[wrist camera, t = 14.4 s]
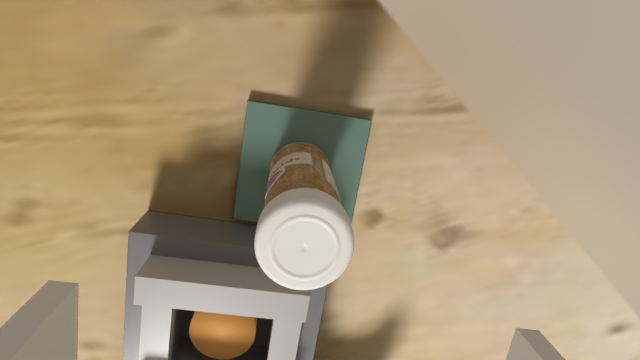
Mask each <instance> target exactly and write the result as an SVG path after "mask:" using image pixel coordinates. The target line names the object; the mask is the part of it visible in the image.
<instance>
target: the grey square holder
mask: <svg viewBox="0 0 640 360" xmlns="http://www.w3.org/2000/svg"><path fill="white" fill-rule="evenodd" d="M256 228H257V225H253V224H246V223H238V222H230V221H222V220H215V219H207V218H199V217H192V216H184V215H176V214H168V213H161V212H153V211H147V212H146V213H145V214H144V216H143V217H142V218H141V219H140V220H139V221H138V222H137V223H136V224H135V225H134V226H133V228H132V229H131V230H130V231H129V236H128V257H127V277H126V298H125V318H124V339H123V359H122V360H313V357H314V352H315V347H316V342H317V336H318V331H319V326H320V321H321V316H322V310H323V305H324V300H325V295H326V290H327V285H325V286H323V287H320V288H317V289H312V290H295V289H290V288H287V287H284V286H281V285H279V284H278V283H276V282H274V281H273V280H272V279H270V278H269V277H268V276H267V275H266V274H265V272H264V271H263V270H262V268H261V267H260V265H259V263H258V261H257V258H256V254H255V249H254V240H255V233H256ZM195 311H200V312H209V313H219V314H228V315H237V316H247V317H256V318H258V319H257V326H256V334H255V339H254V342H253V344H252V345H251V347H250V348H249V349H248V350H247V351H246V352H245V353H243V354H242V355H240V356H238V357H235V358H232V359H214V358H211V357H208V356H206V355H204V354H202V353H201V352H200V351H199V350H197V349H196V347H195V346H194V345H193V343H192V341H191V339H190V334H189V327H190V323H191V320H192V318H193V315H194V312H195Z"/></svg>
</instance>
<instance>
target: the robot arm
mask: <svg viewBox="0 0 640 360" xmlns="http://www.w3.org/2000/svg"><path fill="white" fill-rule="evenodd" d="M77 345H78V283H69V282H60V281H50V280H49V281H48V282H47V283H46V284H45V285H44V286H43V287H42V288H41V289H40V290H39V291H38V292H37V293H36V294H35V295H34V296H33V297H32V298H31V299H30V300H29V301H28V302H26V303H25V304H24V305H23V306H22V307H21V308H20V309H19V310H18V311H17V312H16V313H15V314H14V315H13V316H12V317H11V318H10V319H9V320H8V321H7V322H6V323H5V324H4V325H3V326H2V327H1V328H0V360H77ZM506 360H565V359H564V358H563V357H562V356H561V354H560V353H559V352H558V351H557V350H556V349H555V348H554V347H553V346H552V345H551V343H550V342H549V341H548V340H547V339H546V338H545V337H544V336H543V335H542V334H541V333H540V331H539V330H529V329H520V328H516V330H515V333H514V336H513V339H512V342H511V345H510V348H509V351H508V354H507V357H506Z"/></svg>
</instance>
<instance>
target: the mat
mask: <svg viewBox="0 0 640 360" xmlns="http://www.w3.org/2000/svg"><path fill="white" fill-rule="evenodd" d="M370 125H371V120H369V119H363V118H357V117H351V116H344V115H338V114H332V113H326V112H319V111H313V110H307V109H301V108H295V107H288V106H282V105H276V104H270V103H263V102H257V101H251V100H248V101H247V108H246V116H245V125H244V133H243V141H242V150H241V158H240V167H239V175H238V183H237V192H236V200H235V208H234V217H233V219H238V220H246V221H254V222H258V220H259V217H260V215H261V213H262V211H263V209H264V206H265V194H266V189H267V184H268V178H269V174H270V164H271V161H272V158H273V157H274V155H275V154H276V153H277V152H278V151H279V150H280V149H281V148H282V147H284V146H286V145H288V144H290V143H293V142H307V143H311V144H313V145H315V146H317V147H318V148H319V149H320V150H322V151H323V152H324V154H325V156H326V157H327V159H328V161H329V165H330V170H331V172H332V175H333V178H334V181H335V184H336V187H337V190H338V193H339V196H340V201H341V205H342V206H343V208H344V209H345V211H346V213H347V215H348V217H349V220H350V223H351V220H352V215H353V210H354V205H355V200H356V195H357V190H358V185H359V180H360V175H361V170H362V165H363V160H364V155H365V150H366V145H367V140H368V135H369V130H370Z"/></svg>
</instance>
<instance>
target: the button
mask: <svg viewBox="0 0 640 360" xmlns="http://www.w3.org/2000/svg"><path fill="white" fill-rule="evenodd" d="M257 319H258V318H256V317H247V316H237V315H228V314H219V313H209V312H200V311H195V312H194V315H193V318H192V320H191V323H190V327H189V334H190V339H191V341H192V343H193V345H194V346H195V347H196V349H197V350H199V351H200V352H201V353H202V354H204V355H206V356H208V357H211V358H214V359H232V358H235V357H238V356H240V355H242V354H243V353H245V352H246V351H247V350H248V349H249V348H250V347H251V345H252V344H253V342H254V339H255V334H256V326H257Z"/></svg>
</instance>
